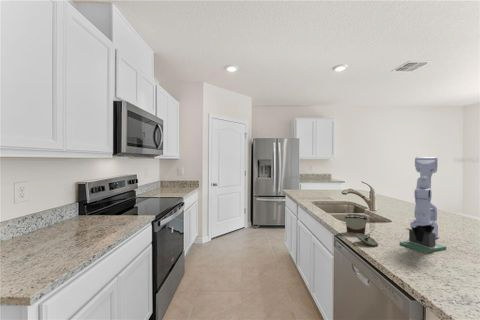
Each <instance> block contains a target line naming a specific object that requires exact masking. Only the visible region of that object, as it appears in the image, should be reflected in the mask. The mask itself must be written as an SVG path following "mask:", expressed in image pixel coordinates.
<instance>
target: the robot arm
mask: <svg viewBox="0 0 480 320" xmlns="http://www.w3.org/2000/svg"><path fill="white" fill-rule="evenodd" d="M438 160H439V159H438V157H437V156H422V157H421V156H416V157H415V158H414V167H415V171H416V172H417V173H419V174H420V175H419V177H418V178H417V180H416V187H415V189H414V192H413V193H414V195H413V196H414V203H415V206H414V218H415V219H413V221H412V222H410V227H411V229H413V231H414V233H415V237H416V240H417V241H419V242H422V239H423V233H424V231H427V232H431V233H435V239H439V238H441V237H440V236H439V225H438V222H436V221H438V208H437V206H436V205H435V204H433V203H432V195H433V194H432V176H433V174H435V173H437V171H438ZM410 227H409V228H410Z"/></svg>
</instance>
